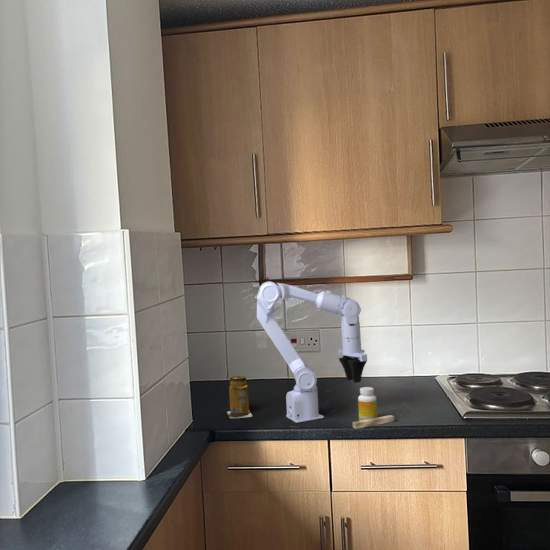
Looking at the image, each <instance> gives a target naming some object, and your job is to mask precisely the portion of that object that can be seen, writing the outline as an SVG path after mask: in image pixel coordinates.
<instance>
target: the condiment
mask: <svg viewBox="0 0 550 550" xmlns="http://www.w3.org/2000/svg"><path fill="white" fill-rule="evenodd" d="M228 394H229V411H226V413H227V415H228V418H229V419H242V418H251V417H253V415H252V413H251V411H250V406H249V405H250V402H249V386H248V385H247V378H246V376H245V375H234V376H231V377H230V379H229V387H228ZM249 412H250V413H249ZM247 414H248V415H247ZM235 416H236V417H235Z"/></svg>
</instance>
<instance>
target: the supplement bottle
mask: <svg viewBox="0 0 550 550" xmlns="http://www.w3.org/2000/svg"><path fill="white" fill-rule="evenodd" d="M374 390H375V389H374V388H373V387H371V386H365V387H360V388H359V393H360V395H359V396H358V398H357V402H358V403H357V405H358V419H359V420H358V421H361V420H366V419H372V418H377V417H378V406H377V405H378V404H377V402H378V401H377V396H376V395H375V394H374V392H375V391H374Z"/></svg>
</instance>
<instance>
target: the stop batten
mask: <svg viewBox="0 0 550 550" xmlns="http://www.w3.org/2000/svg"><path fill="white" fill-rule="evenodd" d="M393 422H395V416H394V415H392V414H389V415H383V416H379V417H378V416H377V418H372V419H366V420H361V421H359V420H357V421H352V428H353V429H355V430H357V429H362V428H363V429H364V428H366V427H367V428H368V427H373V426H379V425H384V424H389V423H393Z"/></svg>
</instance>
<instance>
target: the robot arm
mask: <svg viewBox="0 0 550 550" xmlns="http://www.w3.org/2000/svg"><path fill="white" fill-rule="evenodd" d="M290 298H292V299H293V298H294V299H297V300H301V301H304V302H308V303H312V304H314V305H315V306H316V308H317V309H318V310H322V311H324V312H327V313H328V312H329V313H333V314H336V315H339V314H340V318H341V319H340V320H341V321H340V322H341V323H340V326H341V327H340V328H341V341H342V348H338V349H337V350H338V351H337V352H338V356H342V357H339V358H338V361H339V363H340V364H341V366H342V368H343V370H344V374H345V377H346V380H347V381H353V383H355V384H356V383H361V382H362V377H363V371H364V368H365V365H366V364H367V363H368V354H367V353H366V352H365V349H362V341H361V339H362V338H361V337H362V336H361V323H360V314H361V312H362V308H361V307H360V306H361V305H360V304H359V303H358V301H356V300H355V299H352V298H350V297H347V295H344V294H342V295H338V294H336V293H335V294H334V293H332V291H331V290H326V291H325V290H322V291H320V292H318V293H315V292H313V291H310V290H307V289H303V288H302V287H297V286H294V285H291V284H287V283H280V282H276V283H275V282H273V281H266V282H263V283H262V284H261V285H260V287H259V289H258V291H257V295H256V318H257V321H258V322H259V324H260V325H261V327H262V328H263V330H264V331H265V332H266V334H267V336H268V337H269V339H270V340H271V342H272V343H273V344H274V346H275V347H276V349H277V351H278V353H279V354H280V355H281V356H282V358H283V359H284V361H285V363H286V364H287V365H288V367H289V369H290V371H291V373H292V374H293V378H294V380H295V383H296V384H295V385H294V386H293V389H292V390H290V391H288V392H287V393H286V396H285V401H286V402H285V403H286V405H285V406H286V415H285V417H286V418H288V419H289V420H292V422H294V423H298V424H299V423H302V422H309V421H315V420H319V419H324V418H325V416H324V415H322V414H320V413H319V397H318V396H319V395H318V386H317V383H318V382H317V381H318V378H317V376H316V374H315V372H314V370H313V368H312V367H311V366H309V365H308V364H306V363H305V361H304V360H303V359H302V357H301V356H300V355H299V353H298V352H297V350H296V348H295V347H294V345H293V344H292V343H291V341H290V340H289V338H288V337H287V334H286V333H285V332H284V330H283V329H282V327H281V326H280V324H279V323H278V321H277V320H276V319H275V317H274V315H273V314H274V311H275V307H276V305H277V303H278V301H279V300H280V299H281V300H287V299H290Z"/></svg>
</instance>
